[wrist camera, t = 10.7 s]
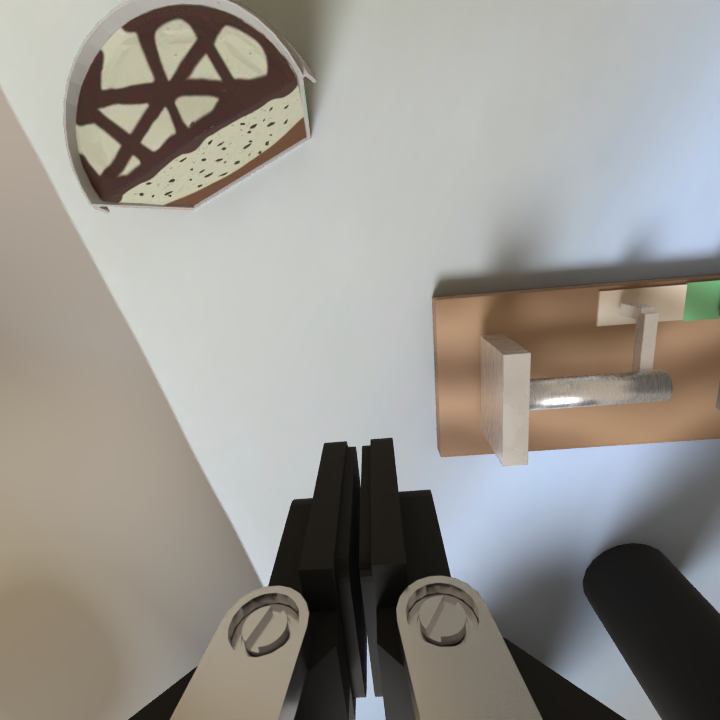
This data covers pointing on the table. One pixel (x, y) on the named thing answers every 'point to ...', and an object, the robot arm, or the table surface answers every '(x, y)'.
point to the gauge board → (583, 360)
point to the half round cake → (180, 103)
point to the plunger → (560, 386)
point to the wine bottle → (659, 629)
